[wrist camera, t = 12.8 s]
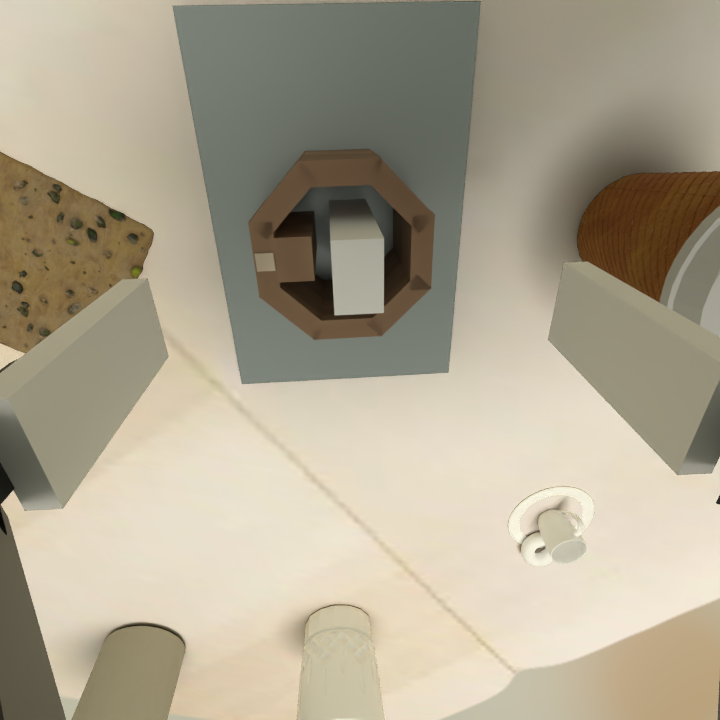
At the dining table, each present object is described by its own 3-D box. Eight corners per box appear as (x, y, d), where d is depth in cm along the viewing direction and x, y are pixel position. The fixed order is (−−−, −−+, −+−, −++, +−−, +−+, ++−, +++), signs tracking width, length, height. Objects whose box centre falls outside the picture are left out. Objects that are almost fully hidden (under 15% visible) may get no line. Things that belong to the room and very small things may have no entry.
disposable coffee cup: (616, 112, 24) (836, 109, 14) (737, 183, 27) (1004, 226, 16) (522, 268, 28) (637, 357, 18) (634, 317, 31) (794, 422, 20)
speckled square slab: (-101, 302, 27) (-114, 308, 26) (-75, 107, 22) (-91, 107, 22) (101, 381, 31) (95, 389, 30) (160, 228, 26) (154, 232, 25)
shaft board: (471, 8, 22) (578, -73, 12) (443, 361, 31) (491, 463, 22) (182, 12, 21) (69, -69, 12) (245, 372, 31) (211, 481, 21)
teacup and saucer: (536, 558, 44) (555, 597, 40) (482, 527, 41) (497, 566, 37) (608, 506, 41) (635, 543, 37) (555, 469, 38) (579, 505, 34)
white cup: (285, 619, 45) (275, 740, 36) (349, 590, 43) (355, 709, 35) (328, 652, 49) (328, 769, 40) (389, 626, 47) (403, 743, 38)
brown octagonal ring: (413, 146, 23) (439, 155, 18) (409, 291, 27) (429, 335, 22) (258, 151, 23) (237, 163, 17) (277, 298, 27) (265, 344, 21)
